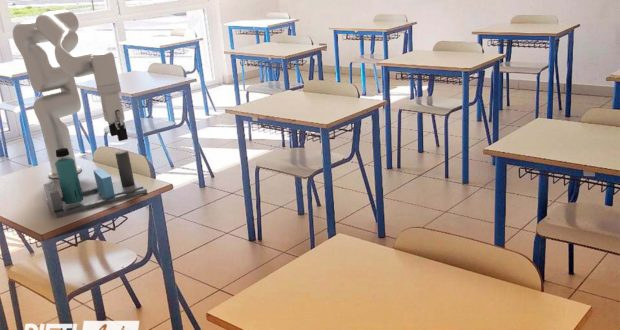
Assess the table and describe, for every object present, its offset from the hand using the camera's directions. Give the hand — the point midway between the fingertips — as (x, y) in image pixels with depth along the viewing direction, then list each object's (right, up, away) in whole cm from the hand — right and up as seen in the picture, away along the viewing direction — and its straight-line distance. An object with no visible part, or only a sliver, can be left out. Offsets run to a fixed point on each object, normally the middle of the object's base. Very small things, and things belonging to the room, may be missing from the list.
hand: (119, 137), depth 219 cm
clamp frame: (-8, -21, +1) cm, 23 cm away
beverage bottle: (-14, -23, -2) cm, 28 cm away
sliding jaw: (-1, -19, +5) cm, 19 cm away
